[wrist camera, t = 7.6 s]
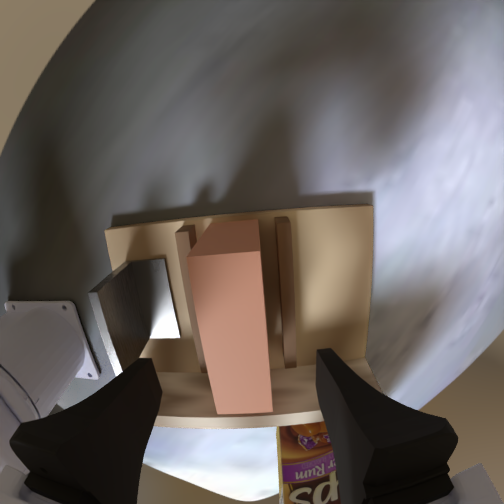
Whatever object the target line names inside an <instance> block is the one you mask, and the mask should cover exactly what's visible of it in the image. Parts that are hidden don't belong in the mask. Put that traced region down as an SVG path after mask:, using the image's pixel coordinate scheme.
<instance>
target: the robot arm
mask: <svg viewBox="0 0 504 504" xmlns="http://www.w3.org/2000/svg"><path fill="white" fill-rule="evenodd" d="M64 305H65V306H66V308H67V309H66V308H65V306H64ZM5 308H6V311H7V313H6V314H4V315H3V316H2V317H1V318H0V504H137V495H138V486H139V479H140V473H141V467H142V462H143V457H144V453H145V449H146V446H147V443H148V440H149V437H150V435H151V432H152V429H153V426H154V423H155V420H156V418H157V415H158V412H159V408H160V403H161V398H162V393H163V391H162V388H161V385H160V382H159V379H158V376H157V373H156V370H155V367H154V364H153V361H152V358H139V359H137V360H136V361H135V362H133V363H132V364H131V365H130V366H128V367H127V368H126V369H125V370H124V371H122V372H121V373H120V374H119V375H118V376H116V377H115V378H114V379H113V380H111V381H110V382H109V383H108V384H106V385H105V386H104V387H102V388H101V389H99V390H98V391H97V392H95V393H94V394H92V395H91V396H89V397H88V398H86V399H84V400H83V401H81V402H79V403H77V404H75V405H73V406H71V407H69V408H67V409H65V410H63V411H61V412H58V413H56V414H53V415H50V416H48V414H49V413H50V411H51V410H52V408H53V407H54V406H55V404H56V403H57V401H58V400H59V399H60V397H61V396H62V394H63V393H64V391H65V390H66V389H67V387H68V386H69V384H70V383H71V382H72V380H73V379H74V378H75V377H78V378H86V379H95V380H97V379H99V377H100V373H99V371H98V368H97V366H96V364H95V361H94V359H93V356H92V353H91V351H90V348H89V345H88V343H87V340H86V337H85V334H84V332H83V329H82V326H81V323H80V320H79V317H78V314H77V311H76V307H75V305H74V303H73V302H71V301H7V302H6V303H5ZM315 385H316V391H317V397H318V402H319V406H320V409H321V413H322V416H323V419H324V422H325V425H326V429H327V432H328V435H329V438H330V441H331V445H332V449H333V454H334V459H335V465H336V471H337V478H338V484H339V492H340V500H341V504H503V502H502V500H501V498H500V496H499V494H498V492H497V490H496V488H495V487H494V485H493V483H492V481H491V480H490V478H489V476H488V474H487V472H486V470H485V469H484V467H483V465H482V464H481V463H478V464H476V465H474V466H472V467H470V468H468V469H466V470H464V471H462V472H460V473H458V474H456V475H455V476H453V477H452V478H451V479H450V478H449V476H448V472H449V471H450V468H449V466H448V465H447V461H448V460H449V458H450V456H451V455H452V453H453V451H454V449H455V448H456V445H457V443H458V436H457V435H456V433H455V432H454V429H453V428H452V426H451V425H450V424H449V422H448V421H447V419H446V418H442V417H438V416H434V415H430V414H426V413H423V412H420V411H418V410H415V409H412V408H410V407H407V406H405V405H403V404H401V403H399V402H397V401H395V400H393V399H391V398H389V397H387V396H386V395H384V394H383V393H381V392H379V391H378V390H376V389H375V388H374V387H372V386H371V385H370V384H368V383H367V382H366V381H364V380H363V379H362V378H361V377H360V376H359V375H357V374H356V373H355V372H354V371H353V370H352V369H351V368H350V367H349V366H348V365H347V364H346V363H345V362H344V361H343V360H342V359H341V358H340V357H339V356H338V355H337V354H336V353H335V352H334V350H333V349H331V348H325V349H317V350H316V384H315Z"/></svg>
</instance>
